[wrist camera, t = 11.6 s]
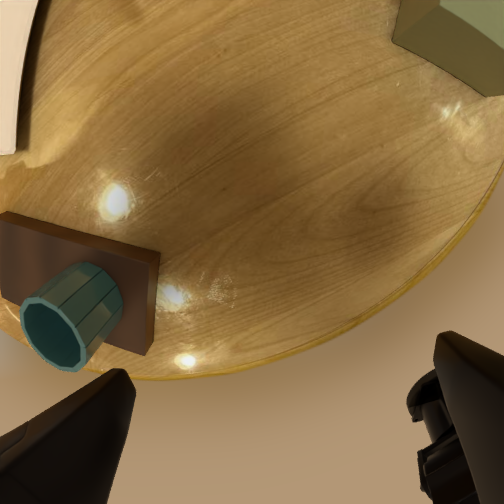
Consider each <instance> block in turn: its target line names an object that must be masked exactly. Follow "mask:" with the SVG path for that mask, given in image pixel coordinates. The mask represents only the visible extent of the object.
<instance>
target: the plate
mask: <svg viewBox="0 0 504 504" xmlns="http://www.w3.org/2000/svg"><path fill="white" fill-rule="evenodd" d="M39 1H40V0H0V155H7V154H14V152H15V150H16V148H17V141H18V120H19V107H20V96H21V88H22V80H23V73H24V67H25V61H26V55H27V50H28V45H29V40H30V36H31V31H32V27H33V23H34V19H35V16H36V12H37V8H38V5H39Z"/></svg>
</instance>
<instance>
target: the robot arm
mask: <svg viewBox="0 0 504 504" xmlns="http://www.w3.org/2000/svg"><path fill="white" fill-rule="evenodd" d="M433 357H434V358H433V361H434V366H435V369H436V372H437V376H438V379H436V380H432V381H428V382H425V383H423V384H421V385H420V388H419V392H418V396H417V400H416V404H415V408H414V412H413V415H412V421H413V422H418V421H422V420H424V422H425V424H426V428H427V430H428V433H429V435H430V438H431V441H432V444H431V445H430V446H428V447H426V448H424V449H423V450H422V449H421V450H419V451H418V452H417V454H418V466H419V475H420V483H421V485H420V489H421V491H422V492H426V494H427V495H428V497H429V498H430V499H431V500H432V501H433V504H504V356H503V355H501V354H499V353H497V352H495V351H493V350H491V349H489V348H487V347H484V346H483V345H480V344H478V343H476V342H474V341H472V340H470V339H468V338H466V337H464V336H462V335H460V334H458V333H456V332H454V331H446V332H442V333H440V334H438V336H437V339H436V344H435V350H434V356H433ZM135 397H136V389H135V387H134V385H133V383H132V381H131V379H130V377H129V375H128V373H127V372H126V370H124V369H119V368H113V369H111V370H109V371H107V372H106V373H104V374H103V375H101V376H100V377H98V378H96V379H95V380H93V381H92V382H90V383H89V384H87V385H85V386H84V387H82V388H81V389H79V390H77V391H76V392H74V393H73V394H71V395H69V396H68V397H67V398H65V399H63V400H61V401H60V402H58V403H57V404H55V405H53V406H52V407H50V408H49V409H47V410H45V411H44V412H42V413H40V414H39V415H37V416H35V417H34V418H32V419H31V420H29V421H27V422H25V423H24V424H22V425H20V426H19V427H17V428H15V429H14V430H12V431H10V432H8V433H6V434H4V435H3V436H1V437H0V504H107V501H108V498H109V494H110V491H111V487H112V484H113V480H114V477H115V474H116V470H117V467H118V464H119V460H120V457H121V453H122V451H123V448H124V445H125V441H126V438H127V434H128V430H129V425H130V421H131V416H132V411H133V407H134V402H135Z"/></svg>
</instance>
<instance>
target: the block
mask: <svg viewBox="0 0 504 504" xmlns="http://www.w3.org/2000/svg"><path fill="white" fill-rule="evenodd" d="M159 259H160V253H159V252H155V251H152V250H148V249H144V248H140V247H136V246H132V245H128V244H124V243H120V242H117V241H113V240H109V239H105V238H101V237H98V236H94V235H90V234H86V233H83V232H79V231H75V230H72V229H68V228H64V227H61V226H57V225H53V224H50V223H46V222H43V221H39V220H35V219H32V218H28V217H25V216H21V215H18V214H14V213H11V212H7V211H6V212H4V213H1V214H0V289H1V295H2V298H4V299H6V300H8V301H10V302H12V303H14V304H16V305H18V306H20V307H21V306H22V304H23V302H24V300H25V299H26V298H27V297H28V296H30V295H31V294H32V293H34V292H35V291H36V290H37V289H39V288H40V287H41V286H43V285H44V284H45V283H47V282H48V281H49V280H51V279H52V278H53V277H55V276H56V275H58V274H59V273H60V272H62V271H63V270H64V269H66V268H67V267H69V266H70V265H72V264H74V263H80V262H89V263H91V264H93V265H96V266H98V267H100V268H102V269H103V270H105V272H106V273H107V274H108V275H109V276H110V277H111V278H112V279H113V280H114V282H115V283H116V285H117V286H118V288H119V291H120V294H121V297H122V300H123V311H122V318H121V320H120V321H119V322H118V324H117V325H116V326H115V327H114V329H113V330H112V331H111V332H110V334H109V335H108V336H107V338H106V339H105V340H104V341H103V342H105V343H107V344H110V345H113V346H116V347H119V348H121V349H124V350H127V351H130V352H133V353H136V354H139V355H142V356H145V355H146V353H147V352H148V350H149V348H150V346H151V345H152V343H153V335H154V317H155V303H156V290H157V279H158V269H159Z"/></svg>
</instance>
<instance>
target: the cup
mask: <svg viewBox="0 0 504 504" xmlns="http://www.w3.org/2000/svg"><path fill="white" fill-rule="evenodd" d="M122 311H123V300H122V297H121V294H120V291H119V288H118V286H117V285H116V283H115V282H114V280H113V279H112V278H111V277H110V276H109V275H108V274H107V273H106V272H105V270H103V269H102V268H100V267H98V266H96V265H93V264H91V263H89V262H80V263H74V264H72V265H70V266H69V267H67V268H66V269H64V270H63V271H62V272H60V273H59V274H58V275H56V276H55V277H53V278H52V279H51V280H49V281H48V282H47V283H45V284H44V285H43V286H41V287H40V288H39V289H37V290H36V291H35V292H34V293H32V294H31V295H30V296H28V297H27V298H26V299H25V300H24V302H23V304H22V306H21V307H20V310H19V313H20V322H21V326H22V330H23V332H24V334H25V336H26V338H27V340H28V342H29V344H30V345H31V347H32V348H33V349H34V350H35V351H36V352H37V353H38V354H39V355H40V356H41V357H42V359H43V360H45V361H46V362H47V363H49V364H51V365H52V366H54V367H56V368H57V369H59V370H62V371H67V372H77V371H79V370H80V369H81V368H83V367H84V366H85V365H86V364H87V362H88V361H89V360H90V358H91V357H92V356H93V354H94V353H95V352H96V350H97V349H98V348H99V347H100V345H101V344H102V343H103V341H104V340H105V339H106V338H107V336H108V335H109V334H110V332H111V331H112V330H113V329H114V327H115V326H116V325H117V324H118V322H119V321H120V320H121V318H122Z"/></svg>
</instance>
